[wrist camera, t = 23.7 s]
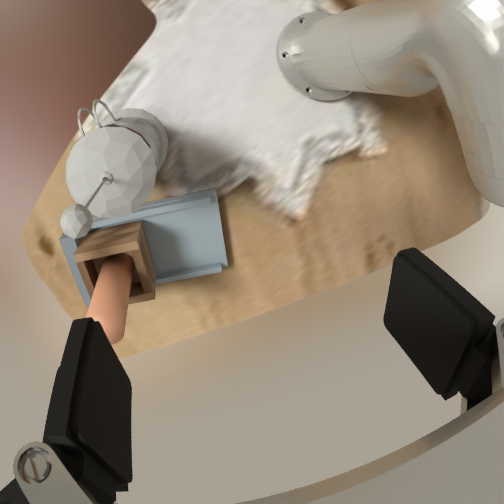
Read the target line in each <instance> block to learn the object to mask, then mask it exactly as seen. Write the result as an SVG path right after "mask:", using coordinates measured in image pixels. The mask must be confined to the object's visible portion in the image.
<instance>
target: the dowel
mask: <svg viewBox="0 0 504 504" xmlns="http://www.w3.org/2000/svg"><path fill="white" fill-rule="evenodd" d="M133 270H134V264H133V261H132V259H131V258H130V257H129V256H128V255H127V254H125V253H118V254H113V255H109V256H106V257H105V259H104V261H103V264H102V267H101V270H100V273H99V276H98V280H97V283H96V286H95V289H94V292H93V296H92V299H91V302H90V306H89V309H88V313H87V316H86V318H88V317H92V318H93V319H94V321H99V322H100V323H101V325H102V327H103V329H104V331H105V334H106V336H107V338H108V340H109V342H110V344H115V343H117V342H119V341H120V340H121V339H122V338H123V336H124V331H125V323H126V315H127V308H128V301H129V294H130V288H131V281H132V275H133Z"/></svg>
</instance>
